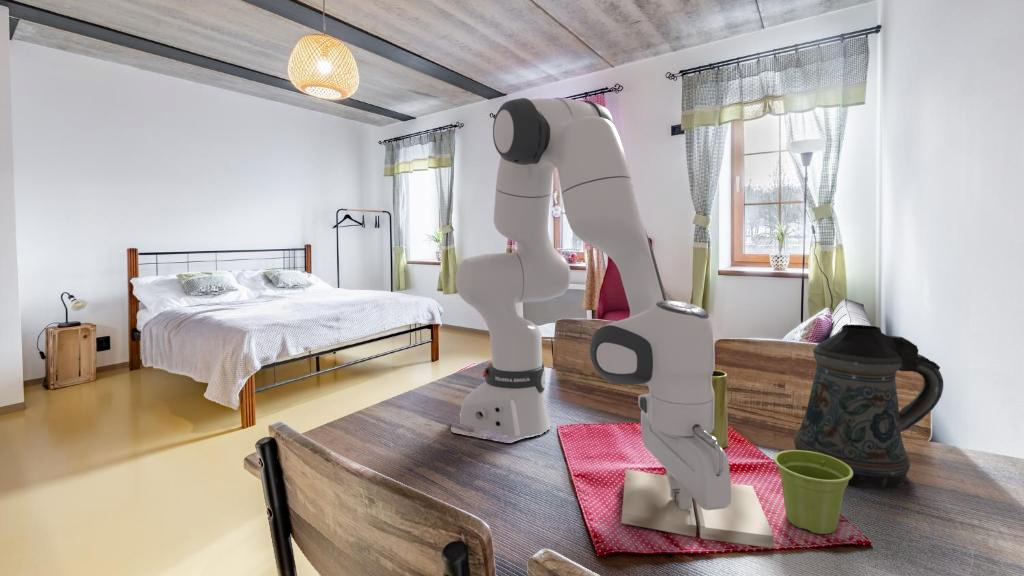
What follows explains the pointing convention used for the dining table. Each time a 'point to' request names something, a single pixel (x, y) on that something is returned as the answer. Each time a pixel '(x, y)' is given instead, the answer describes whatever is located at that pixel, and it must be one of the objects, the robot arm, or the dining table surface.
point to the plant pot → (812, 488)
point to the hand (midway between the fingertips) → (680, 503)
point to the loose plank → (654, 505)
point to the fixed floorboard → (736, 520)
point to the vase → (720, 408)
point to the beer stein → (866, 404)
